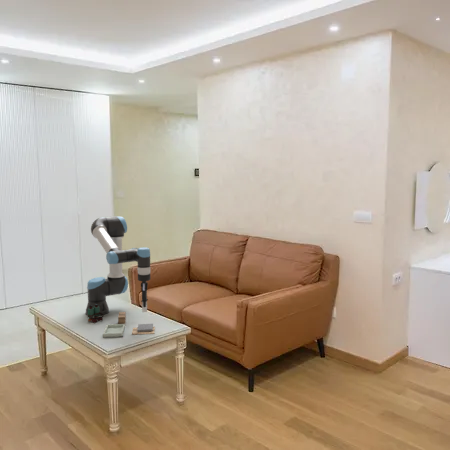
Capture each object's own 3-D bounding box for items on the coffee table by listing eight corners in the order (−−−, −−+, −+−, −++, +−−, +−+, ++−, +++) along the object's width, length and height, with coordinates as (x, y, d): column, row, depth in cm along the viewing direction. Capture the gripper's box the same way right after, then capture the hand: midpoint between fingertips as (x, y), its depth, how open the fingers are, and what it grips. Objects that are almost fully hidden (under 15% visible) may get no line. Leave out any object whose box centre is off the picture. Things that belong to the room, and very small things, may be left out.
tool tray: (106, 328, 268) (106, 324, 268) (125, 327, 269) (125, 323, 269) (102, 337, 252) (102, 334, 252) (122, 336, 253) (122, 333, 253)
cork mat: (133, 328, 267) (133, 327, 267) (154, 327, 269) (154, 326, 269) (131, 334, 257) (131, 334, 256) (154, 333, 258) (154, 333, 258)
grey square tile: (138, 324, 269) (137, 329, 260) (153, 323, 271) (152, 329, 261) (138, 326, 270) (137, 332, 260) (153, 325, 271) (152, 331, 261)
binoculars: (95, 309, 274) (85, 305, 279) (95, 325, 275) (85, 320, 281) (107, 305, 281) (97, 301, 286) (106, 321, 283) (96, 316, 288)
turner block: (119, 321, 280) (119, 312, 280) (125, 321, 281) (125, 312, 280) (118, 326, 271) (118, 317, 270) (125, 326, 271) (124, 317, 271)
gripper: (138, 271, 269) (139, 308, 272) (136, 276, 256) (137, 315, 259) (150, 270, 270) (151, 308, 273) (149, 276, 257) (150, 315, 260)
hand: (144, 311), depth 266 cm, fingers closed
